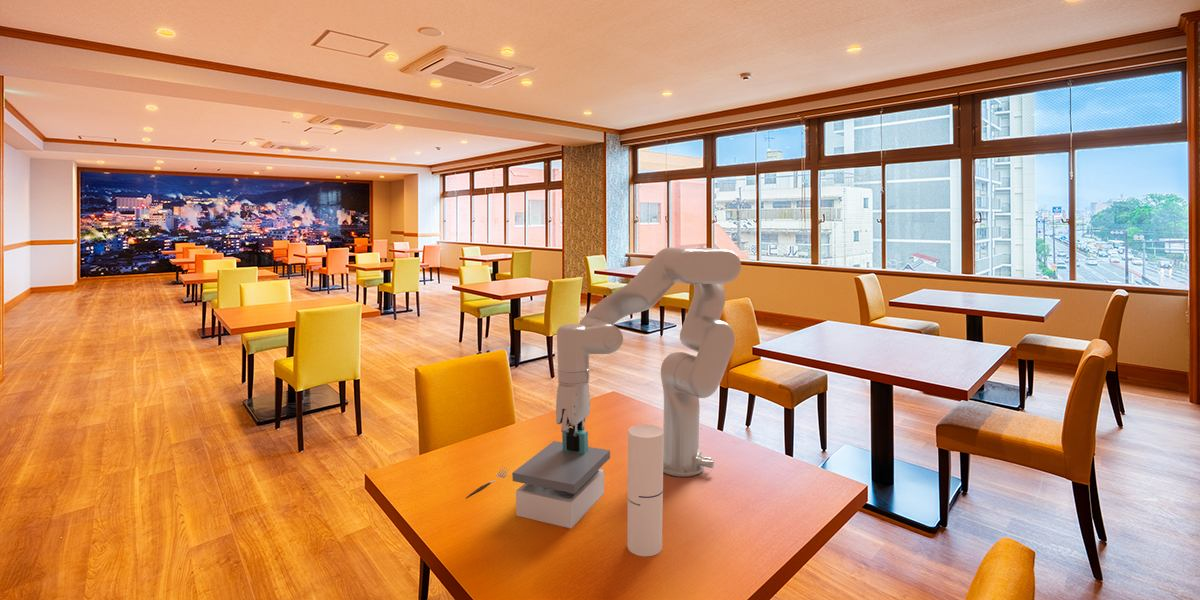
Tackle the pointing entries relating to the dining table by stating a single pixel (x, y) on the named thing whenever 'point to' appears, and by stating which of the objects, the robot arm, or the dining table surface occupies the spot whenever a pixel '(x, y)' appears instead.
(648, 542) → the cylindrical container
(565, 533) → the dining table surface
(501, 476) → the fork
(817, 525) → the dining table surface
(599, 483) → the tub
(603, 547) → the dining table surface
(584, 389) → the robot arm
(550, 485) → the lid
